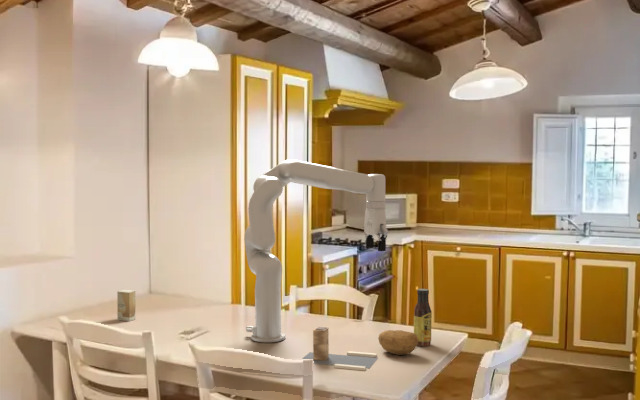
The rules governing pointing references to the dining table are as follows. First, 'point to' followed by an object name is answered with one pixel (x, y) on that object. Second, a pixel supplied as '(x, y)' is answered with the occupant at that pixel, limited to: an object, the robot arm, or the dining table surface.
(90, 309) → the dining table surface
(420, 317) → the sauce bottle
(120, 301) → the skincare box
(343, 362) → the plate
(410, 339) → the potato
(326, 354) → the oak block
